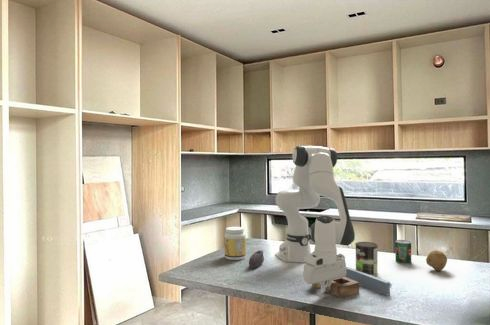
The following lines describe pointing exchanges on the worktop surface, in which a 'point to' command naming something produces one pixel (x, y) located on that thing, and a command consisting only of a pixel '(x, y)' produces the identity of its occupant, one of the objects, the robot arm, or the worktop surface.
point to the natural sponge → (436, 260)
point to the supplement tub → (235, 243)
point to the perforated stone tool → (256, 259)
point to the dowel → (316, 285)
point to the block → (343, 287)
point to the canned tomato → (403, 251)
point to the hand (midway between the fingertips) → (325, 290)
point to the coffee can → (366, 257)
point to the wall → (369, 281)
